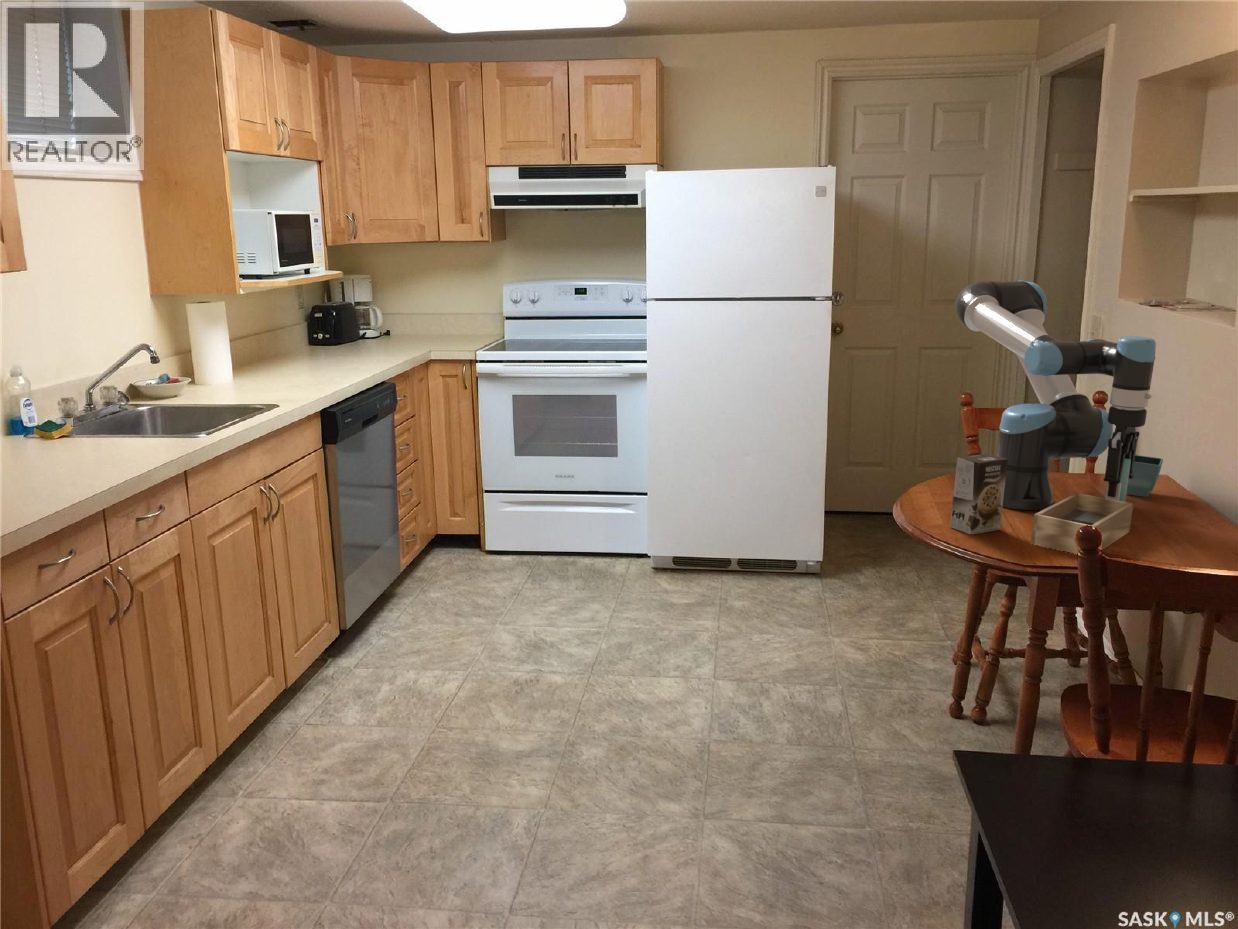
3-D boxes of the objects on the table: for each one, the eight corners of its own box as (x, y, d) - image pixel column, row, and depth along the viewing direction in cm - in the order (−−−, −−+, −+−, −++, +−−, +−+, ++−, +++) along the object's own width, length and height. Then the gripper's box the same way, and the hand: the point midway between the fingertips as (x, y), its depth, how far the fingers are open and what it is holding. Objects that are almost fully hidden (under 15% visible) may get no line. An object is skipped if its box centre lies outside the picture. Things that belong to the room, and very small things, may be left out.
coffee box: (971, 535, 213) (978, 462, 209) (948, 527, 218) (955, 456, 214) (1001, 530, 217) (1009, 458, 213) (978, 522, 222) (986, 452, 218)
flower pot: (1158, 492, 248) (1163, 457, 246) (1155, 500, 241) (1160, 465, 239) (1119, 487, 253) (1124, 453, 250) (1115, 495, 245) (1120, 460, 243)
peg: (1100, 518, 226) (1108, 459, 222) (1106, 515, 228) (1114, 456, 225) (1119, 522, 223) (1127, 462, 220) (1124, 518, 226) (1133, 459, 222)
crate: (1030, 544, 207) (1034, 514, 206) (1072, 520, 224) (1076, 492, 222) (1090, 557, 199) (1094, 527, 198) (1129, 532, 216) (1133, 503, 214)
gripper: (1133, 414, 211) (1119, 519, 217) (1158, 404, 223) (1143, 503, 229) (1097, 409, 216) (1083, 512, 222) (1123, 399, 228) (1109, 497, 234)
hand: (1114, 507), depth 225 cm, fingers closed on peg, 4 cm apart
